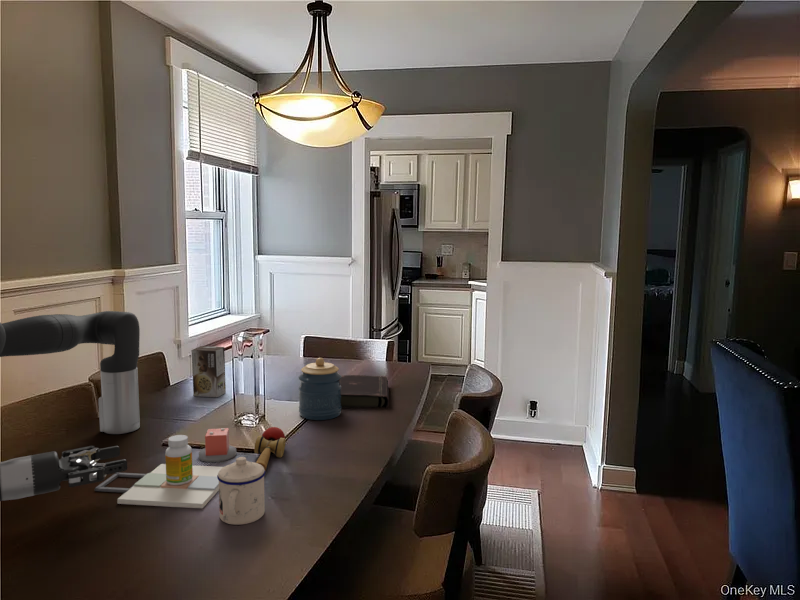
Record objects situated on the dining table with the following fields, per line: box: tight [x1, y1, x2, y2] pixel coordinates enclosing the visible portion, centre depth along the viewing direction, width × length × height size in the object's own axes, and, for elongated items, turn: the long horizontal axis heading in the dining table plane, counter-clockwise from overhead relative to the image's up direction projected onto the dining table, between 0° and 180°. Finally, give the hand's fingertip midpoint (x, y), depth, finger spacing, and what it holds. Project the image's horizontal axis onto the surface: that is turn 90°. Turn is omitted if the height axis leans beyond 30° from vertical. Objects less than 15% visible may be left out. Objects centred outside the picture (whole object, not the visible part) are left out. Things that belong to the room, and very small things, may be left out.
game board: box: [94, 463, 224, 509], centre depth 127 cm, size 26×18×1 cm
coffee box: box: [191, 345, 227, 398], centre depth 196 cm, size 9×6×16 cm
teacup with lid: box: [217, 456, 266, 526], centre depth 112 cm, size 12×9×12 cm
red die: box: [198, 427, 237, 463], centre depth 144 cm, size 9×9×6 cm
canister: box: [298, 357, 342, 421], centre depth 176 cm, size 13×13×18 cm
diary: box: [340, 374, 390, 409], centre depth 196 cm, size 19×25×5 cm
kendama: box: [253, 426, 287, 472], centre depth 142 cm, size 8×6×18 cm
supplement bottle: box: [164, 434, 193, 485], centre depth 125 cm, size 5×5×10 cm
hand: (123, 457), depth 119 cm, fingers open, 8 cm apart
